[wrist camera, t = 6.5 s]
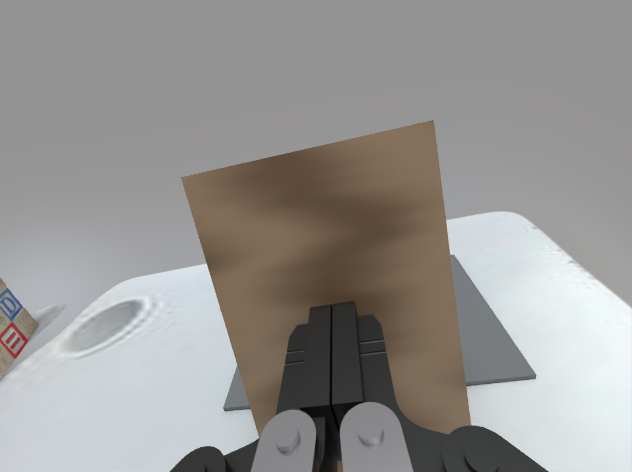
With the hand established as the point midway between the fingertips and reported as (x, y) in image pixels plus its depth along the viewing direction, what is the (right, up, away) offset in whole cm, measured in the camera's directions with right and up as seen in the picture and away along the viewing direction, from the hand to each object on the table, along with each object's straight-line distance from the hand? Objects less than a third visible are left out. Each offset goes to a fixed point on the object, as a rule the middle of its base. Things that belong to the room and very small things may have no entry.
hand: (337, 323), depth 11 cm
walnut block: (+2, -9, +5) cm, 11 cm away
